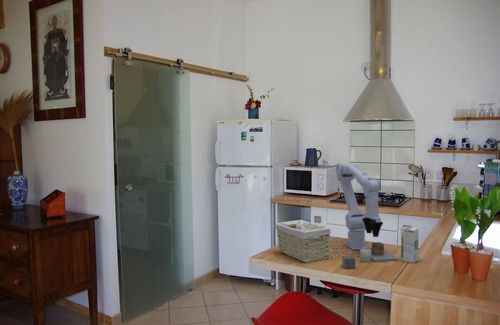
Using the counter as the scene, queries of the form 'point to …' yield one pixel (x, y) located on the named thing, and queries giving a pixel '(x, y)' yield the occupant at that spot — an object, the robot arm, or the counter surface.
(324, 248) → the storage basket
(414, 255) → the syrup box
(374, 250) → the walnut block
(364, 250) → the sage cylinder
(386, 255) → the slate mat
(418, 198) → the counter surface
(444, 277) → the counter surface
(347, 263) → the charcoal cube
